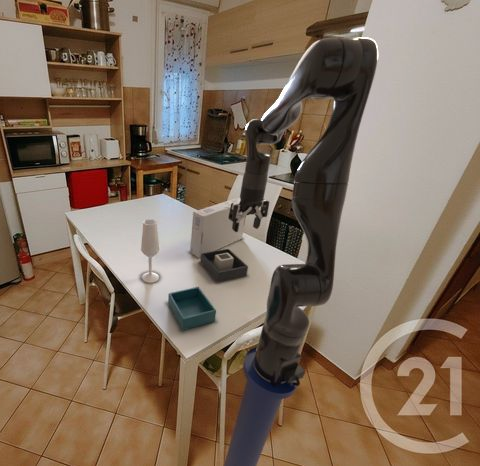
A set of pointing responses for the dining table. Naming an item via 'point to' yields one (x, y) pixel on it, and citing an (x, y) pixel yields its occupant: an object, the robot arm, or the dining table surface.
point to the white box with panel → (223, 262)
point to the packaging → (214, 228)
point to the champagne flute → (150, 247)
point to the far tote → (237, 270)
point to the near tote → (191, 308)
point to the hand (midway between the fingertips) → (245, 229)
